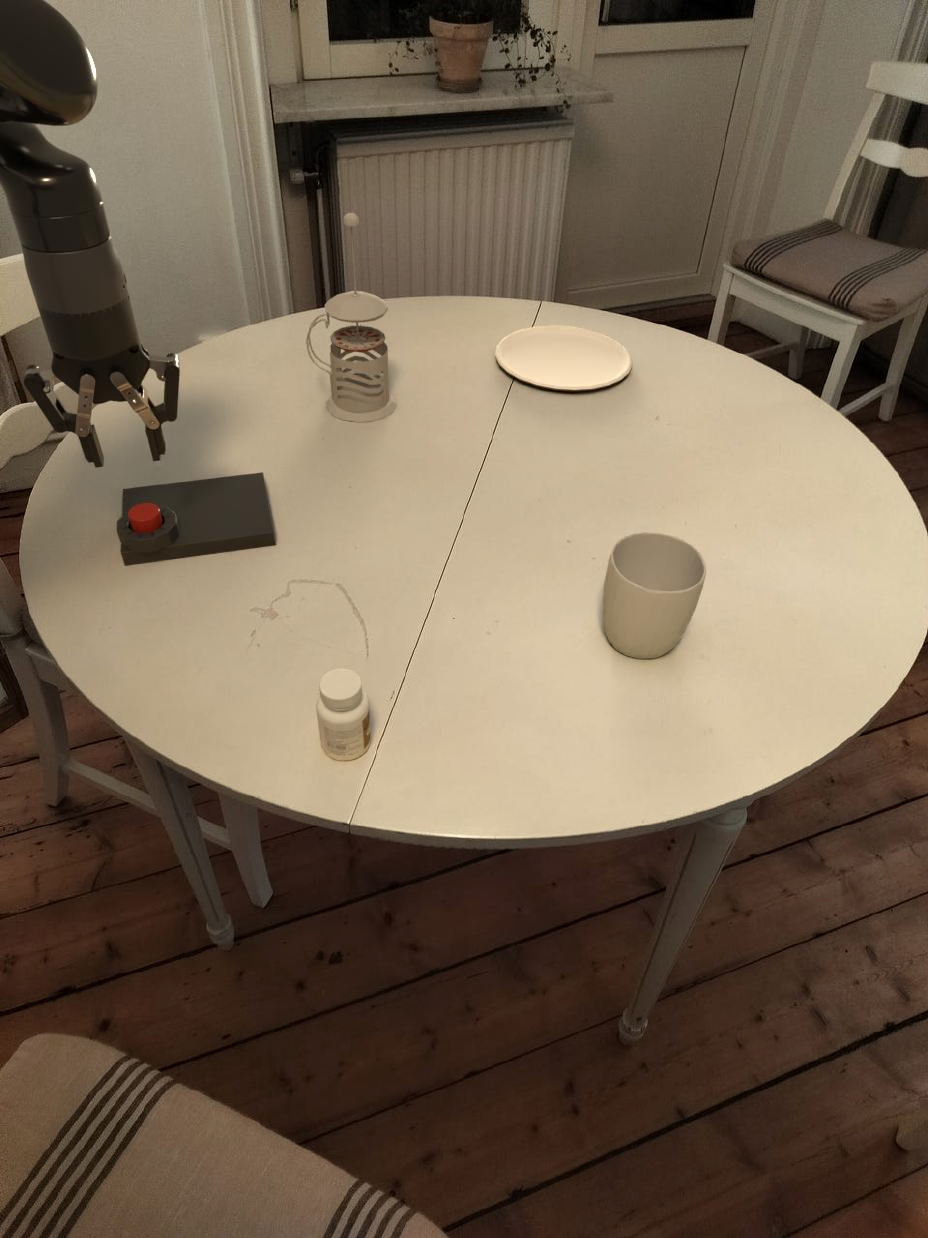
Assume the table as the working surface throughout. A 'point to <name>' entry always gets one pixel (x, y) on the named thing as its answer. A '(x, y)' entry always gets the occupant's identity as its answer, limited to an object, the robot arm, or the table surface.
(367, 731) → the pill bottle
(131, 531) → the black button box
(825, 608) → the table surface
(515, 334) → the plate
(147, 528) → the button
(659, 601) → the mug
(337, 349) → the french press
